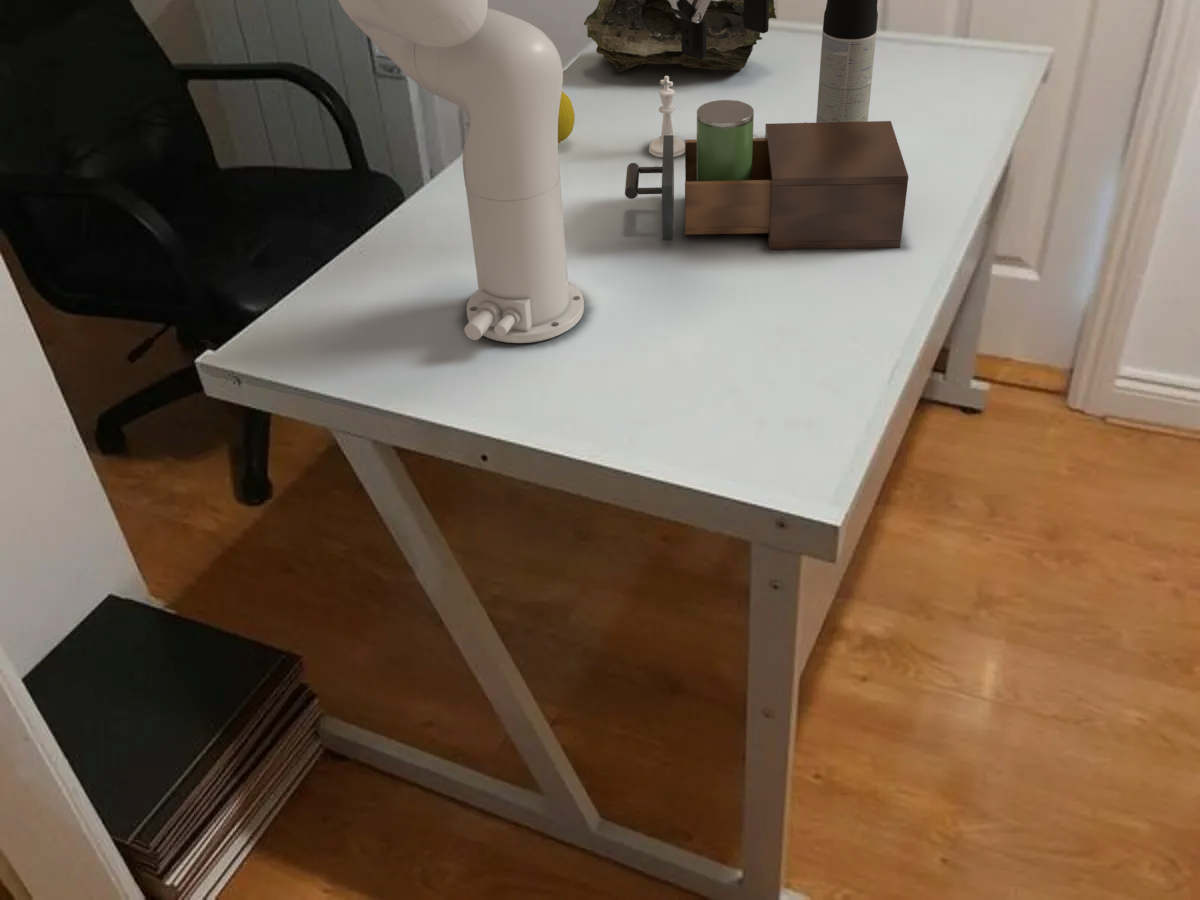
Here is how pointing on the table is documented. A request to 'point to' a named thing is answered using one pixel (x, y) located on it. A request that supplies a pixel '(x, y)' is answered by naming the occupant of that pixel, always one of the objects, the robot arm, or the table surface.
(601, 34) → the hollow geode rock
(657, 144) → the chess piece
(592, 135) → the table surface
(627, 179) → the drawer
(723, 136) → the tin can
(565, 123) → the lemon
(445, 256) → the table surface
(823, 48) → the spray can
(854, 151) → the cabinet
